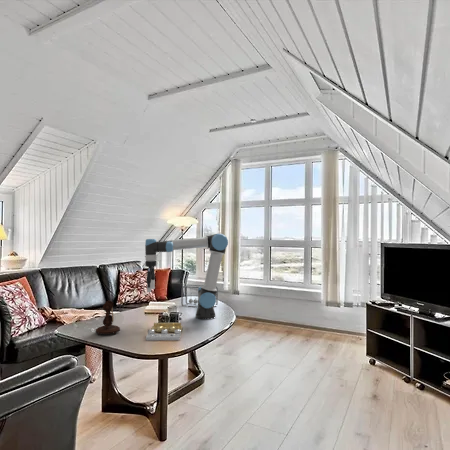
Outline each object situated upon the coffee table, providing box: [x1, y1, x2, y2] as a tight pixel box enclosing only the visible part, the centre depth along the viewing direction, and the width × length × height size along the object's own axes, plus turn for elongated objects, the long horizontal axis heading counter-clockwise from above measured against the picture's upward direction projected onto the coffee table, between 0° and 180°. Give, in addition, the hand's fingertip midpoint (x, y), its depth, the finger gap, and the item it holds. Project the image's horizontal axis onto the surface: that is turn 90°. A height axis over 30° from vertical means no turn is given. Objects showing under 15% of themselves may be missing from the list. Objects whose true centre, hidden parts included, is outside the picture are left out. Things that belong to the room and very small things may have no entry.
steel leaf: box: [145, 329, 182, 341], centre depth 217 cm, size 20×11×4 cm, turn 92°
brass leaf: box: [150, 322, 184, 333], centre depth 231 cm, size 20×11×4 cm, turn 92°
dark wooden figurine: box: [95, 300, 121, 336], centre depth 226 cm, size 15×15×20 cm
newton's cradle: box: [180, 284, 219, 309], centre depth 307 cm, size 30×10×18 cm, turn 74°
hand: (150, 290), depth 251 cm, fingers open, 13 cm apart
